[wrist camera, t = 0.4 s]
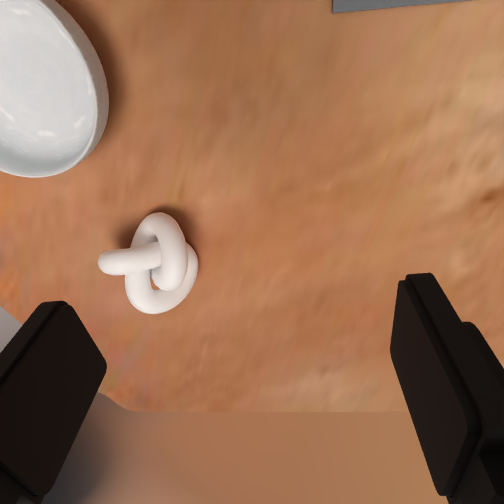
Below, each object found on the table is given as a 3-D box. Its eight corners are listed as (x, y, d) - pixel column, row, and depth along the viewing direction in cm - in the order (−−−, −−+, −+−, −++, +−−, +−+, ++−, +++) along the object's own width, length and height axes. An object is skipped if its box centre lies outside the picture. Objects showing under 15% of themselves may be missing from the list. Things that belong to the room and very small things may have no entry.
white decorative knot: (124, 274, 50) (98, 319, 43) (107, 200, 43) (73, 239, 36) (201, 279, 50) (188, 325, 42) (196, 206, 43) (180, 246, 36)
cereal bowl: (61, -65, 29) (7, -84, 23) (154, 128, 38) (133, 149, 32) (-84, 15, 33) (-161, 15, 27) (32, 172, 41) (-8, 198, 36)
